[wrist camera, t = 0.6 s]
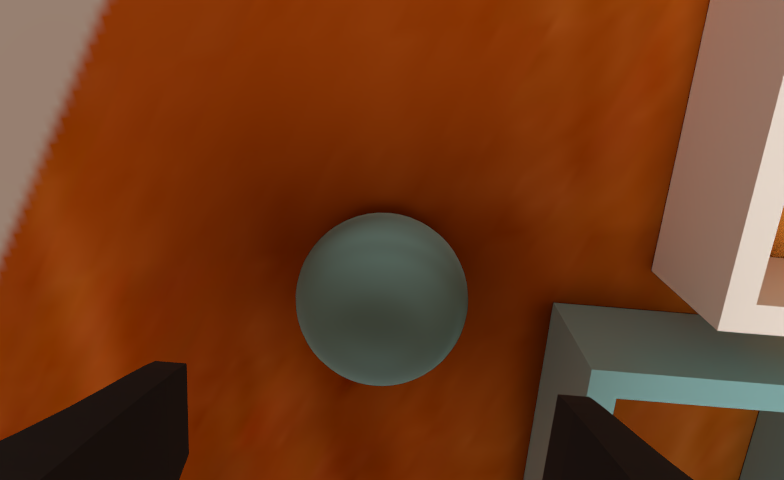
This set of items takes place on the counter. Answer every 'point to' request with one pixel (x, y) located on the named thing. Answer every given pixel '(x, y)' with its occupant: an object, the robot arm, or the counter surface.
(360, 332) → the teal ball
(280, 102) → the counter surface
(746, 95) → the shallow white tray
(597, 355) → the teal open square box
